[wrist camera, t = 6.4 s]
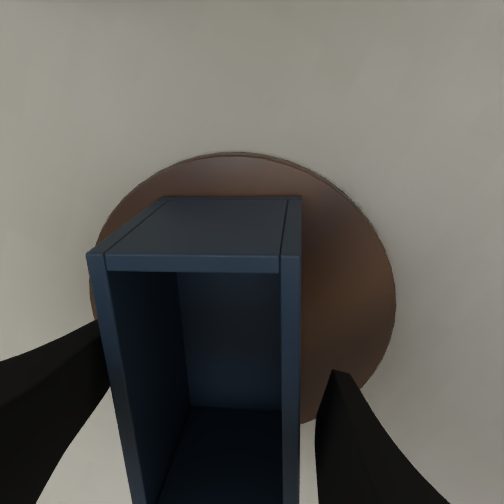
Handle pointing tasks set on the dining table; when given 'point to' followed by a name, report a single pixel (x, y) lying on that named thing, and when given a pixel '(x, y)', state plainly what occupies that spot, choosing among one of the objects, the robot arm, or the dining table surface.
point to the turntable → (313, 260)
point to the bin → (205, 347)
